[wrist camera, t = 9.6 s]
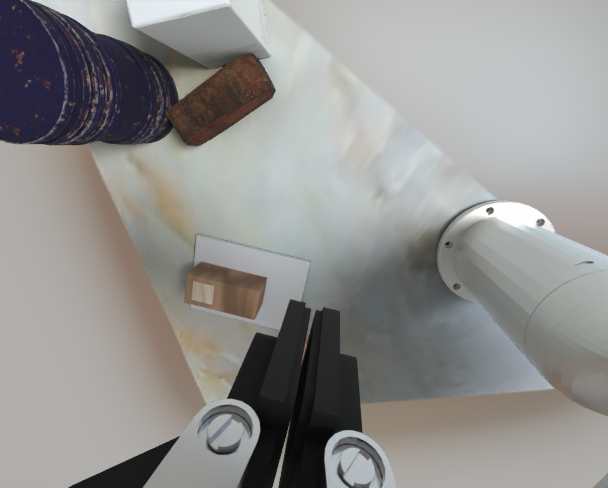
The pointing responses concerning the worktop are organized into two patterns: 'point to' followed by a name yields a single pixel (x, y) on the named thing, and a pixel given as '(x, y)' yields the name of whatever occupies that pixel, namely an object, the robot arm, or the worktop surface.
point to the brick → (222, 100)
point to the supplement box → (204, 27)
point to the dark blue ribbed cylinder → (76, 83)
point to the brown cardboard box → (225, 290)
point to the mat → (276, 267)
